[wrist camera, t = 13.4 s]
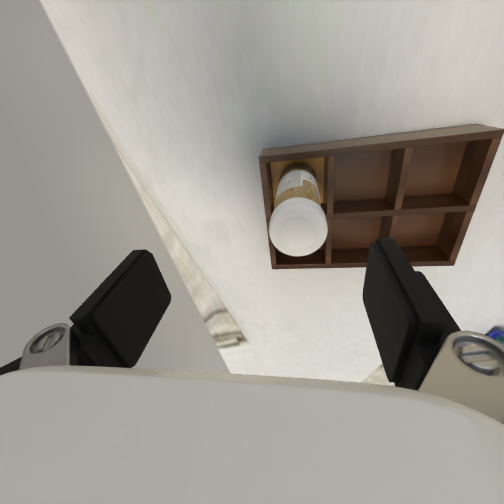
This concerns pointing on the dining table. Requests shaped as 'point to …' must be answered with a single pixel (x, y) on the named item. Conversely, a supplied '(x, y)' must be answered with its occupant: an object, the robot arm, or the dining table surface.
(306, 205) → the sprinkles bottle
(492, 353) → the robot arm
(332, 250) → the tray
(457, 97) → the dining table surface
